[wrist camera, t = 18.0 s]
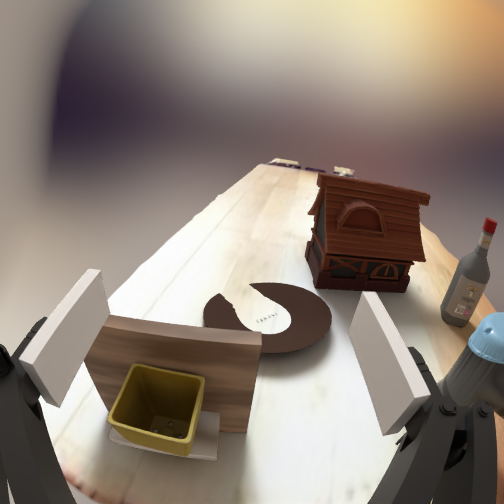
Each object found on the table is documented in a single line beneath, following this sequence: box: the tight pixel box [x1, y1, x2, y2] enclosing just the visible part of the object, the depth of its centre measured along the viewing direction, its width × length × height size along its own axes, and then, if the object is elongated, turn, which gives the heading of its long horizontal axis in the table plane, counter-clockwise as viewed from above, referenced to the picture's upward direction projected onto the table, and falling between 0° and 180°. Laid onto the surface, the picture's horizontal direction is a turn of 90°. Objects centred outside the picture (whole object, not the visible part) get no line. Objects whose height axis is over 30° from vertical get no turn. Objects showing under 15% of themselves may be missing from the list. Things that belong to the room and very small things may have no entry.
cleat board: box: [84, 315, 262, 461], centre depth 32 cm, size 15×22×20 cm
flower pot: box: [107, 363, 205, 456], centre depth 27 cm, size 9×9×9 cm
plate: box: [203, 283, 332, 353], centre depth 62 cm, size 28×28×4 cm
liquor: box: [440, 218, 497, 327], centre depth 58 cm, size 9×9×30 cm
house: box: [305, 173, 430, 293], centre depth 78 cm, size 35×28×29 cm
